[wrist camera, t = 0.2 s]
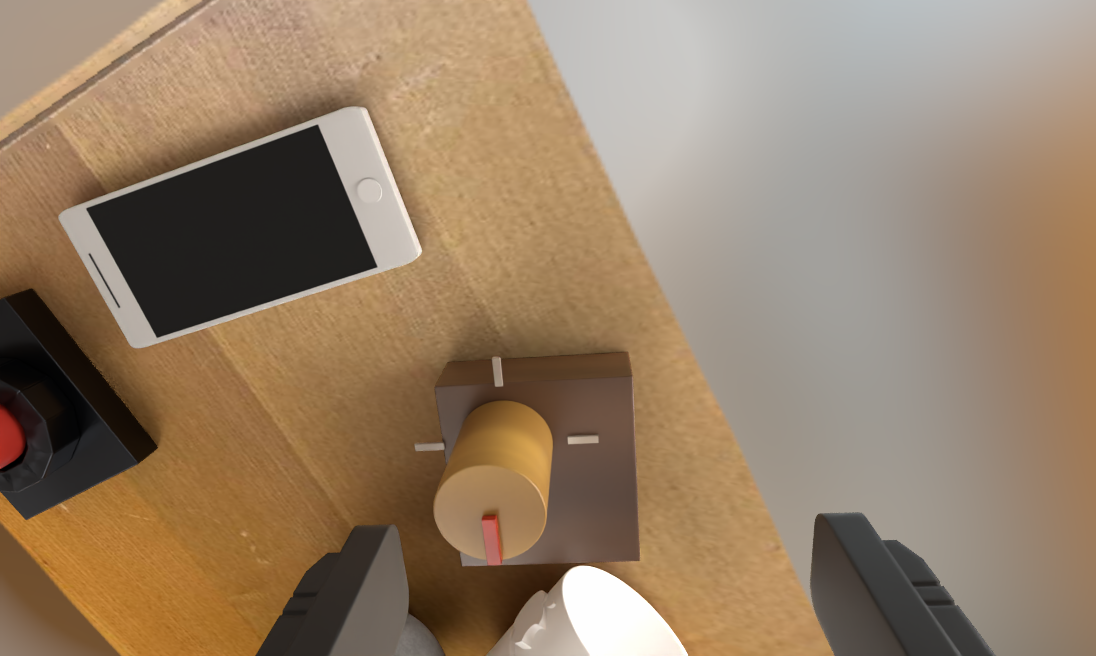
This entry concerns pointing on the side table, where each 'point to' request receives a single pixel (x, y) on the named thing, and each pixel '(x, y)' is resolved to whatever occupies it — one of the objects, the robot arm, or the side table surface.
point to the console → (563, 447)
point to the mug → (588, 621)
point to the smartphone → (245, 229)
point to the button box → (58, 412)
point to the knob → (496, 483)
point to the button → (10, 437)
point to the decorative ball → (417, 640)
